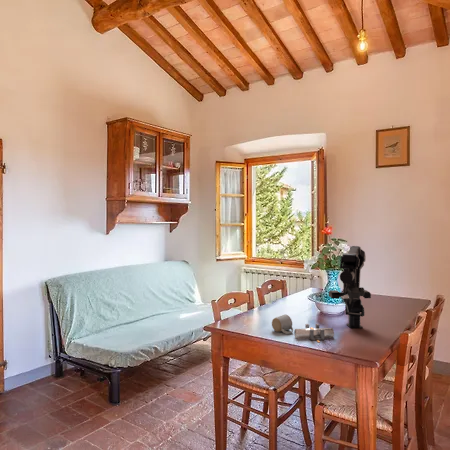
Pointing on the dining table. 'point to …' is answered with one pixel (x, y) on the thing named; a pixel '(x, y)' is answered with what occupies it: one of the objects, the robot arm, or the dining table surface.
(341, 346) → the dining table surface
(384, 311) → the dining table surface
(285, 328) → the ceramic mug
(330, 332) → the tube
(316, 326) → the collar rig
